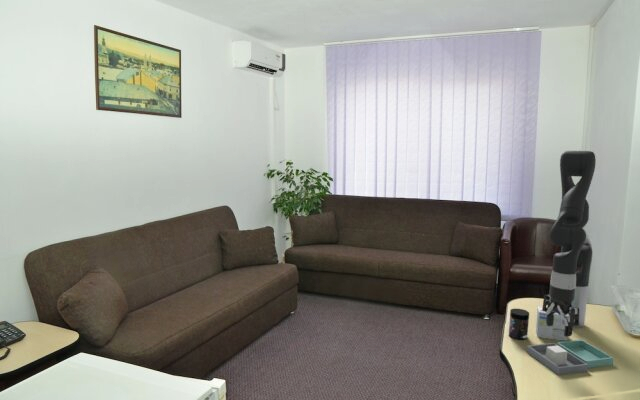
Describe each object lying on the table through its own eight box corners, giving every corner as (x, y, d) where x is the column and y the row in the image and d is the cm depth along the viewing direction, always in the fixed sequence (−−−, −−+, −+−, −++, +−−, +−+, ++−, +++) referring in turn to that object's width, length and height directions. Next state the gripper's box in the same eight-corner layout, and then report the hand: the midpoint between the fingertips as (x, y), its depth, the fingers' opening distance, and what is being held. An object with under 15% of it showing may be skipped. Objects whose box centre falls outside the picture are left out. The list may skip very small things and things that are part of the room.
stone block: (545, 358, 162) (546, 346, 162) (556, 357, 163) (558, 345, 163) (554, 365, 158) (555, 352, 157) (566, 363, 159) (567, 351, 158)
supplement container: (514, 332, 185) (516, 307, 183) (531, 338, 179) (533, 312, 177) (504, 336, 181) (506, 310, 179) (520, 343, 175) (522, 316, 174)
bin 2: (555, 350, 170) (556, 342, 169) (581, 347, 172) (582, 339, 172) (585, 369, 156) (586, 361, 156) (613, 366, 159) (613, 357, 158)
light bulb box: (564, 335, 182) (567, 309, 181) (567, 342, 176) (570, 315, 174) (534, 331, 186) (536, 305, 184) (536, 338, 179) (538, 311, 178)
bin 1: (526, 353, 167) (527, 345, 167) (553, 350, 170) (553, 342, 169) (558, 376, 152) (559, 368, 151) (587, 373, 154) (588, 364, 154)
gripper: (538, 278, 162) (534, 323, 165) (568, 292, 149) (564, 340, 151) (557, 277, 164) (553, 321, 167) (588, 291, 150) (583, 338, 153)
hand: (558, 330), depth 159 cm, fingers open, 8 cm apart
